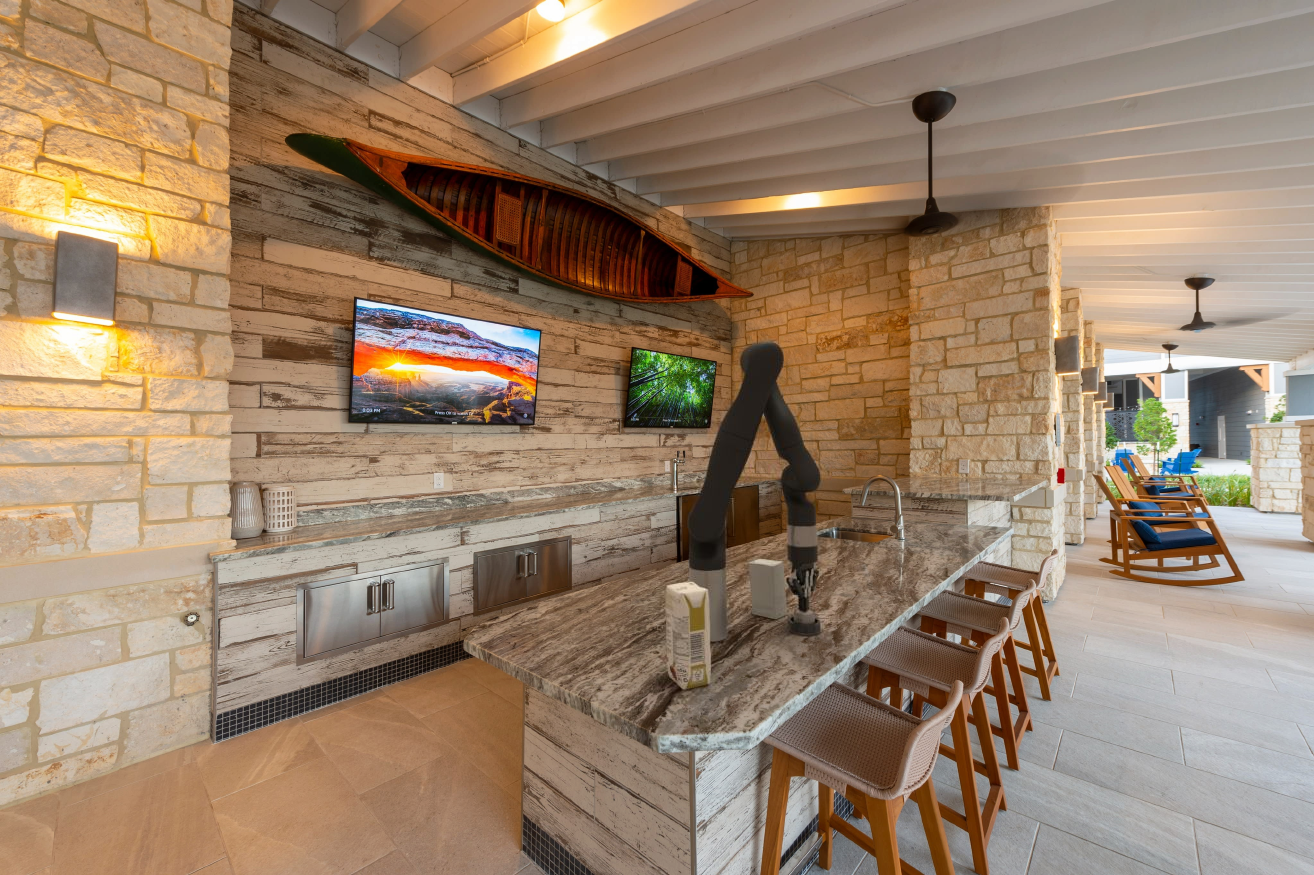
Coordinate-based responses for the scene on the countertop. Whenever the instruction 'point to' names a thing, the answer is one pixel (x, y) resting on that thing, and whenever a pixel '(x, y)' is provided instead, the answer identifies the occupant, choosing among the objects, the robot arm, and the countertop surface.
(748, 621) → the countertop surface
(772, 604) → the skincare box
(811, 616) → the cap
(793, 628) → the black round dish
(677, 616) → the juice carton
